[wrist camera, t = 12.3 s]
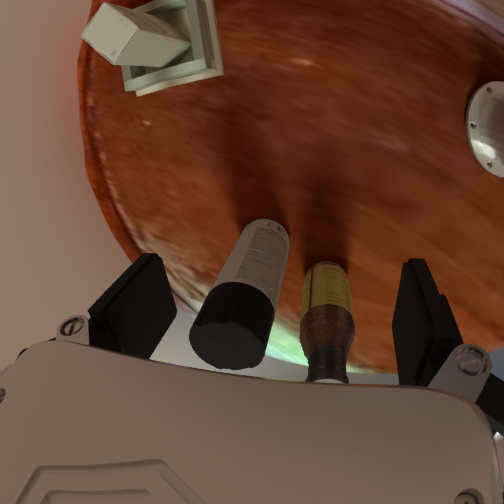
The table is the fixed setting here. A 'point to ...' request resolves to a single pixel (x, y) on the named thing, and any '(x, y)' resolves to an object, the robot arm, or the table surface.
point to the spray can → (243, 299)
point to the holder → (194, 61)
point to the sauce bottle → (326, 322)
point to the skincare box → (135, 38)
